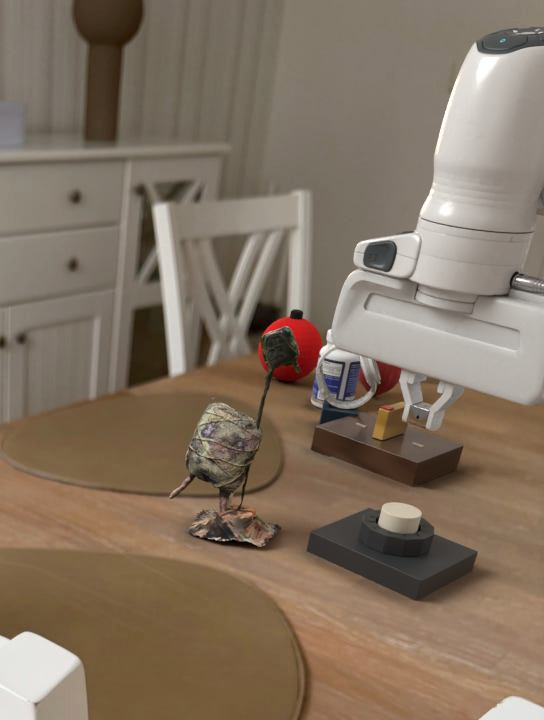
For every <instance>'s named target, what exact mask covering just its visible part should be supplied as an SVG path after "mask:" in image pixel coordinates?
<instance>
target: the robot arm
mask: <svg viewBox="0 0 544 720" xmlns="http://www.w3.org/2000/svg"><path fill="white" fill-rule="evenodd" d="M537 216H543V217H544V26H530V27H523V28H522V27H521V28H519V27H514V28H513V27H512V28H507V29H500V30H496V31H493V32H490V33H488V34H484V36H482V37H481V38H479V39H477V40H476V41H475V42H474V43H473V44H472V45H471V47H470V49H469V50H468V52H467V54H466V56H465V58H464V60H463V62H462V64H461V67H460V69H459V71H458V74H457V76H456V78H455V82H454V84H453V87H452V91H451V93H450V95H449V100H448V102H447V104H446V108H445V112H444V115H443V119H442V122H441V126H440V130H439V134H438V137H437V141H436V146H435V150H434V154H433V177H432V183H431V187H430V190H429V193H428V195H427V197H426V199H425V201H424V203H423V205H422V206H421V208H420V211H419V215H418V219H417V223H416V228H415V229H414V230H407V231H401V232H397V233H396V234H395V235H387V236H381V237H375V238H374V237H373V238H368V239H365V240H361V241H359V242H358V243H357V244H356V246H355V248H354V252H353V257H352V258H353V260H352V261H353V265H354V266H355V267H357V268H356V269H355V270H353V271H352V272H351V273H350V274H349V275H348V276H347V278H346V279H345V281H344V282H343V285H342V288H341V291H340V294H339V297H338V300H337V303H336V307H335V310H334V315H333V320H332V324H331V328H330V329H331V337H332V340H333V342H334V345H335V347H336V348H337V349H340V350H343V351H347V352H350V353H353V354H356V355H360V356H363V357H366V358H369V359H373V360H376V361H379V362H383V363H386V364H389V365H392V366H396V367H399V368H402V370H401V375H400V379H399V381H398V383H399V385H400V390H401V393H402V397H403V402H406V405H405V409H404V413H403V416H402V421H403V422H406V423H408V424H410V425H413V426H415V427H418V428H420V429H423V430H426V431H430V432H434V431H437V430H439V429H440V427H441V426H442V423H443V420H444V416H445V413H446V410H448V409H449V408H450V407H451V406H453V404H454V403H455V402H456V401H457V400H458V399H459V398H461V397H462V395H463V394H464V393H465V389H468V390H471V391H473V392H474V391H475V392H477V393H481V394H484V395H488V396H490V397H494V398H496V399H501V400H504V401H507V402H511V403H513V404H517V405H520V406H523V407H527V408H532V407H536V406H538V405H542V404H544V279H543V278H541V277H537V276H533V275H529V274H526V273H523V270H524V266H525V264H526V260H527V257H528V255H529V250H530V248H531V244H532V241H533V237H534V234H535V230H536V227H537ZM428 377H429V378H432V379H435V380H439V382H438V384H437V385H438V386H437V389H436V392H437V393H438V394H442V395H441V396H440V397H438V399H437V400H436V401H435V402H434V403H433V404H431V403H428V402H425V401H424V397H423V391H422V386H421V382H425V381H426V380H427V378H428Z"/></svg>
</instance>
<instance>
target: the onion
mask: <svg viewBox="0 0 544 720" xmlns="http://www.w3.org/2000/svg"><path fill="white" fill-rule="evenodd" d="M375 361H376V360H375ZM376 364H377V367H378V370H379V374H380V380H381V384H377V387H376V392H375V393H374V395H373V396H372V397H371V398H376V397H378V396H381V395H383V394H385V393H387V392H390V390H392V389H395V386H397V385H398V384H399V379H400V375H401V371H402V368H399V367H396V366H392V365H389V364H386V363H383V362H379V361H376ZM358 381H359V383H360V384H361V386H362V387H363V389H364V390H365V391H366V393H368V392H369V391H370V389H371V386H370V385H369V384H368V383H367V381H366V379H365V376H364V373H363V370H362V367H361V369H360V373H359V378H358Z"/></svg>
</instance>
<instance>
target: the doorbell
mask: <svg viewBox="0 0 544 720" xmlns="http://www.w3.org/2000/svg"><path fill="white" fill-rule="evenodd" d="M380 513H381V509H373V508H371V507H368V508H364V509H362V510H360V511H357V512H355V513H353V514H350V515H348V516H345V517H343V518H341V519H338V520H335V521H333V522H331V523H328V524H325V525H323V526H321V527H318V528H316V529H313V530H311V531H310V532H309V537H308V542H307V547H306V552H307V553H310V554H312V555H313V556H316V557H318V558H320V559H323V560H324V561H327V562H329V563H331V564H334V565H336V566H338V567H340V568H342V569H345V570H346V571H349V572H351V573H353V574H356V575H358V576H360V577H362V578H365V579H366V580H369V581H371V582H373V583H375V584H376V585H377V584H378V585H379V586H382V587H384V588H386V589H388V590H390V591H392V592H394V593H397V594H400V595H401V596H404V597H406V598H408V599H410V600H412V601H415V602H417V601H419V600H421V599H423V598H425V597H426V596H428V595H431V594H433V593H434V592H436V591H438V590H440V589H442V588H444V587H445V586H447V585H449V584H451V583H453V582H455V581H458V579H460V578H462V577H464V576H466V575H468V574H470V573H471V572H473V570H474V566H475V563H476V560H477V557H478V554H479V551H477V550H475V549H472V548H470V547H468V546H465V545H463V544H462V543H458V542H455V541H453V540H450V539H448V538H445V537H443V536H441V535H438V534H435V526H434V525H432V523H430V522H429V521H428V520H427V519H425V518H424V517H421V520H420V523H419V527H418V530H417V532H416V533H415V534H401V533H396V532H391V531H389V530H386V529H384V528H381V527H380V526H379V525H378V521H379V517H380Z"/></svg>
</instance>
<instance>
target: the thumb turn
mask: <svg viewBox="0 0 544 720" xmlns="http://www.w3.org/2000/svg"><path fill="white" fill-rule="evenodd" d="M405 405H406V402H405V401H400V402H397V403H392V404H389V405H388V404H385V405H381V407H379V408H378V412H377V415H376V416H377V419H376V424H375V428H374V432H373V436H372V437H374V438H377V439H379V440H385V439H388V438H391V437H394V436H397V435H400V434H403V433H405V432H406V428H407V427H408V424H409V423H406V422H403V421H402V416H403V413H404V409H405Z"/></svg>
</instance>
